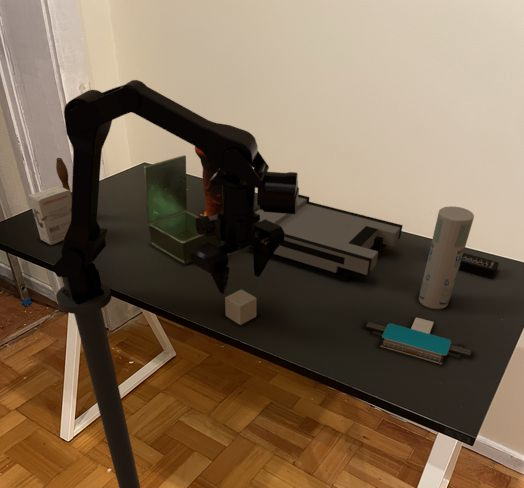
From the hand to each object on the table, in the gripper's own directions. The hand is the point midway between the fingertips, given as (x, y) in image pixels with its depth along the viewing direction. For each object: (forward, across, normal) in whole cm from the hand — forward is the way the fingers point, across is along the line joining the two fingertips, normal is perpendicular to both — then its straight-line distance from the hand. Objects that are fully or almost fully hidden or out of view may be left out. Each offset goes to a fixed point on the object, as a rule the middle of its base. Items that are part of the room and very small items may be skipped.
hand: (240, 284), depth 101 cm
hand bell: (+8, +2, -65) cm, 65 cm away
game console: (+8, -33, -7) cm, 35 cm away
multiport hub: (+8, -52, +21) cm, 57 cm away
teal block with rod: (+8, -20, +29) cm, 36 cm away
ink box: (+8, +10, -57) cm, 58 cm away
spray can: (+8, -34, +24) cm, 42 cm away
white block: (+8, 0, 0) cm, 8 cm away
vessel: (+8, -29, -38) cm, 48 cm away
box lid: (-5, -10, -37) cm, 38 cm away
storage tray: (+8, -10, -31) cm, 33 cm away
